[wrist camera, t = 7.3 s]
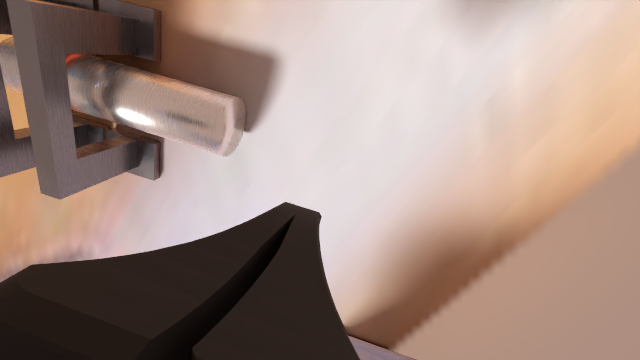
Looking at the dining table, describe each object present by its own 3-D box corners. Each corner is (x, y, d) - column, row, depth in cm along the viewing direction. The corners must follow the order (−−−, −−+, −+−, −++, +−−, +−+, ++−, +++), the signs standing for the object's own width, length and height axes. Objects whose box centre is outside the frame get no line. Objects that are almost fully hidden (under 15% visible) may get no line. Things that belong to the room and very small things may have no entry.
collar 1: (101, -5, 18) (-32, -35, 12) (111, 162, 22) (18, 196, 17) (49, -18, 18) (-103, -54, 12) (70, 148, 23) (-35, 177, 17)
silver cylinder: (250, 101, 19) (225, 91, 15) (237, 155, 19) (210, 158, 16) (59, 46, 20) (-5, 25, 17) (51, 98, 21) (-12, 88, 17)
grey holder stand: (161, 11, 17) (52, -13, 12) (159, 177, 22) (80, 217, 16) (107, -3, 18) (-24, -33, 12) (116, 163, 22) (24, 198, 17)
